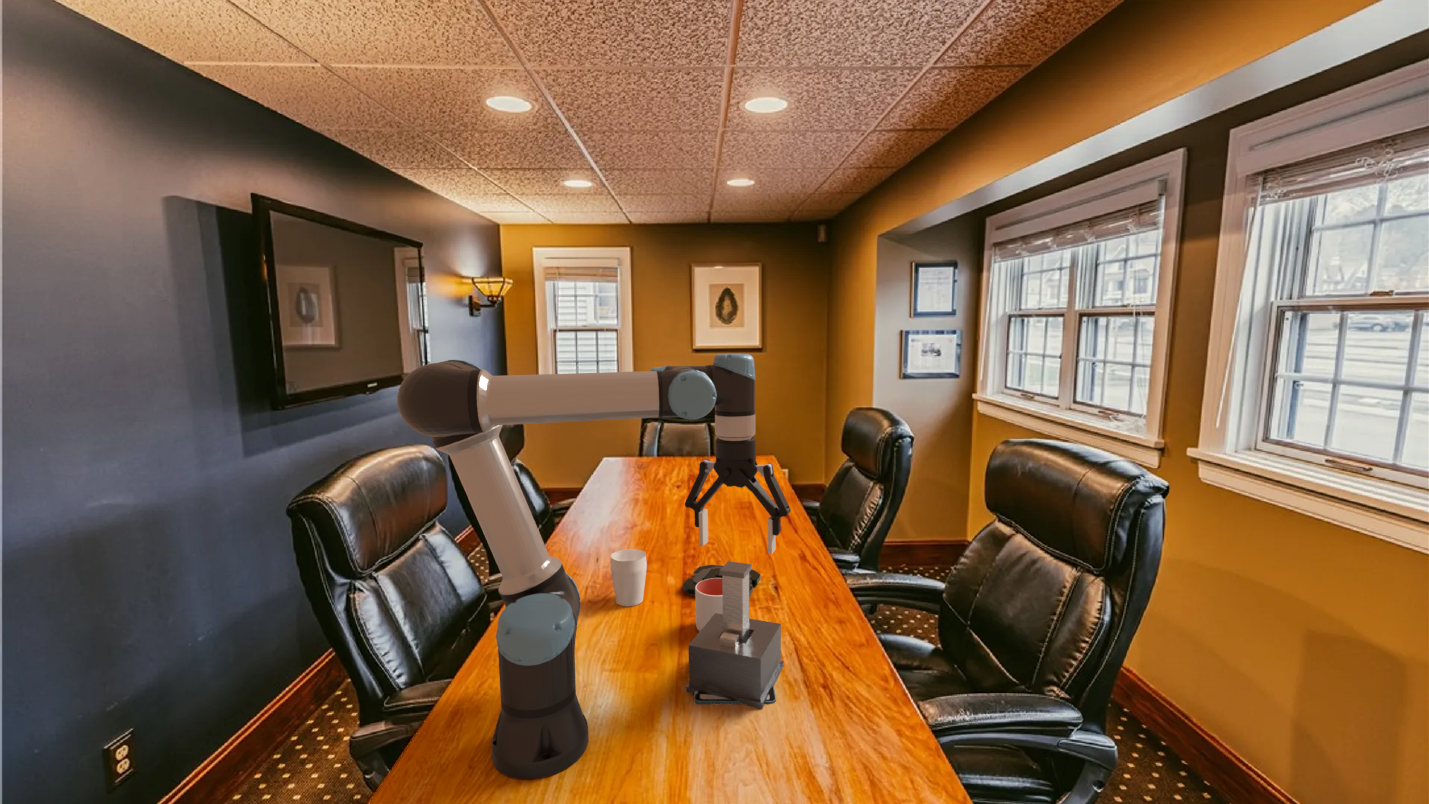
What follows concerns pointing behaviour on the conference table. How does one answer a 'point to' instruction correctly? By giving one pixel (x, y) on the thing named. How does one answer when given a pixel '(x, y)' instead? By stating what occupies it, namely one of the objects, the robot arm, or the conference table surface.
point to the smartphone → (712, 699)
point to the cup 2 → (708, 600)
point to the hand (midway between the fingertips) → (737, 547)
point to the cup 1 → (628, 576)
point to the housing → (736, 662)
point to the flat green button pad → (714, 572)
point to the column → (736, 599)
